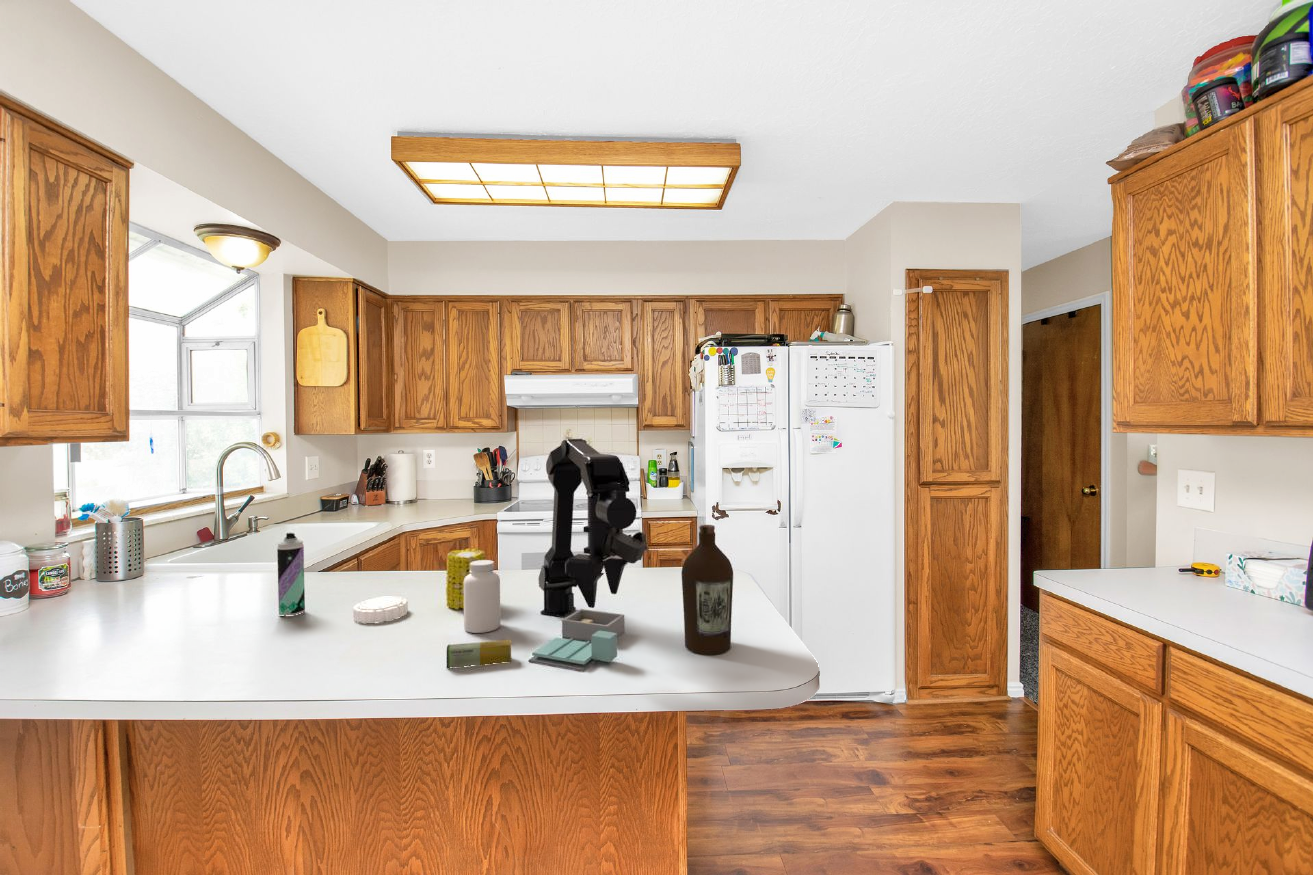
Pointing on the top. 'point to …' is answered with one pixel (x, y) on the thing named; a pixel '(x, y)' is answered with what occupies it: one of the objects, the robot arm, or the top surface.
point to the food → (459, 574)
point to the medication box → (478, 653)
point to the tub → (591, 624)
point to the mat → (561, 663)
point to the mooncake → (380, 609)
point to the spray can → (291, 575)
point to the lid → (581, 649)
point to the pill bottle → (481, 598)
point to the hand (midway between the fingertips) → (603, 600)
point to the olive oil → (707, 596)
